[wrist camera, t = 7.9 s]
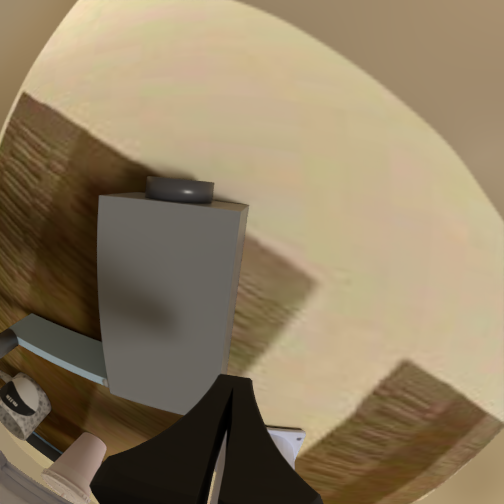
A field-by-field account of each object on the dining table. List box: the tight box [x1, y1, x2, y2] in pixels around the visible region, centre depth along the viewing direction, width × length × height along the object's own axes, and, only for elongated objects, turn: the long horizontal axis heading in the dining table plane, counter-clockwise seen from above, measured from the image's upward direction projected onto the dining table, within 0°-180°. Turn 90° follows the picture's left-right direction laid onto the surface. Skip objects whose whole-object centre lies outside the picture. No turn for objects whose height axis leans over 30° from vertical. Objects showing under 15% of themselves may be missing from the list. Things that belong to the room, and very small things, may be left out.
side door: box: [0, 313, 109, 387], centre depth 18 cm, size 12×2×8 cm, turn 80°
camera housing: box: [97, 176, 249, 415], centre depth 18 cm, size 15×8×5 cm, turn 172°
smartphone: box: [26, 431, 63, 462], centre depth 29 cm, size 7×1×15 cm
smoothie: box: [41, 432, 107, 504], centre depth 19 cm, size 6×6×14 cm
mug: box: [0, 370, 51, 441], centre depth 22 cm, size 10×7×7 cm
